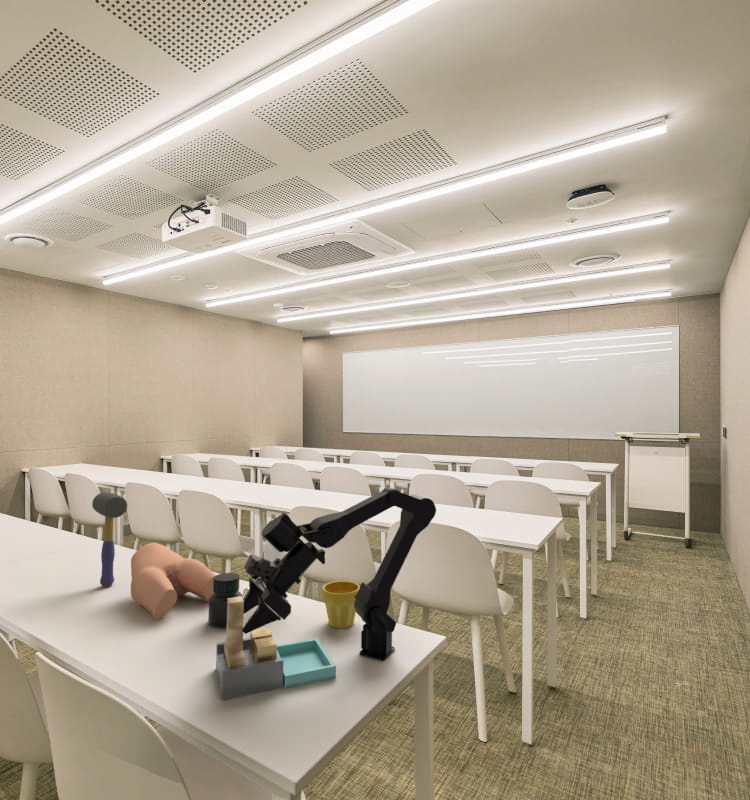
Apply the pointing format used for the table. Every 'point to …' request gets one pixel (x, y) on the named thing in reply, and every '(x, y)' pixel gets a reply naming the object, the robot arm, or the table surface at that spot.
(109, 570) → the rubber mallet
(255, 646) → the brass block
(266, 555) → the water bottle
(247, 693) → the grey tray
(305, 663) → the teal tray
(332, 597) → the plant pot
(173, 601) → the medical training model
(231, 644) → the light brown t-shaped block
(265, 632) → the brass block
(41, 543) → the table surface
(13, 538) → the table surface
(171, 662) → the table surface
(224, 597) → the ink bottle
